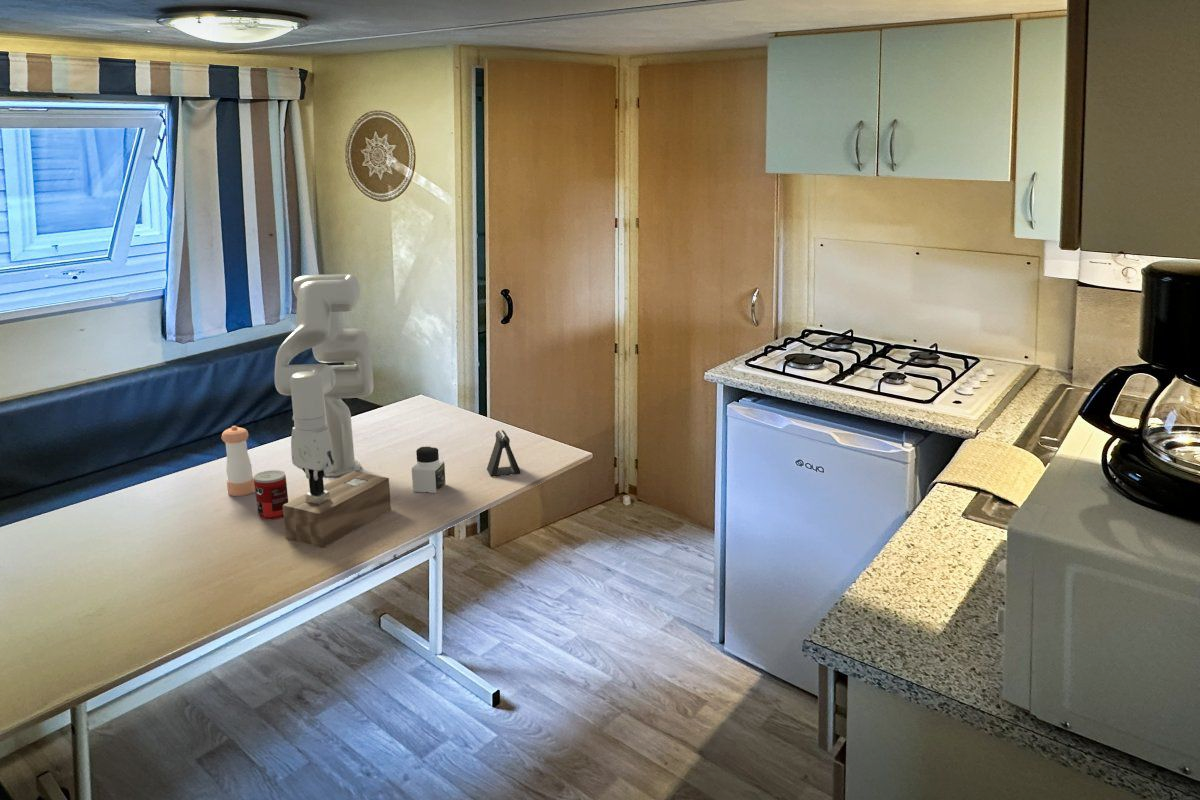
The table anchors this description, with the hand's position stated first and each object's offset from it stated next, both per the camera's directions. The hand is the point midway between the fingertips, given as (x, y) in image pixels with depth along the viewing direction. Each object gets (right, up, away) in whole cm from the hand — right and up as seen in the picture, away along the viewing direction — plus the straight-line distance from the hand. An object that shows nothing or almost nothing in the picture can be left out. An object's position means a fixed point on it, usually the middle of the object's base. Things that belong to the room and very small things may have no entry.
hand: (317, 492), depth 238 cm
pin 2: (+6, -6, +15) cm, 18 cm away
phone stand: (+42, +2, +44) cm, 61 cm away
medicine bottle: (+22, -2, +32) cm, 39 cm away
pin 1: (0, -8, +3) cm, 8 cm away
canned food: (-16, -7, +16) cm, 24 cm away
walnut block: (+3, -9, +9) cm, 13 cm away
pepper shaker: (-30, -3, +31) cm, 43 cm away
